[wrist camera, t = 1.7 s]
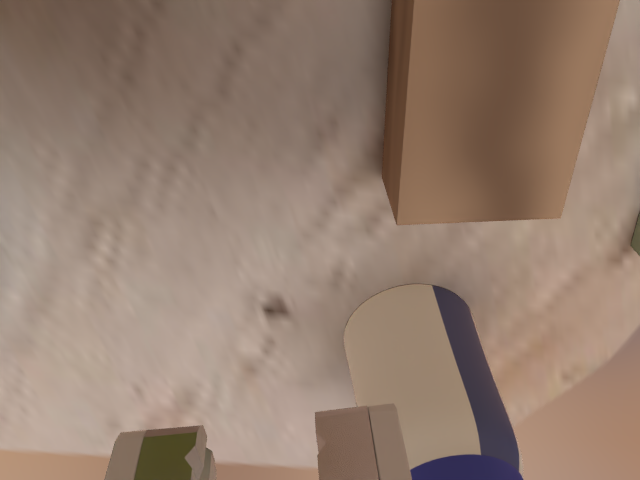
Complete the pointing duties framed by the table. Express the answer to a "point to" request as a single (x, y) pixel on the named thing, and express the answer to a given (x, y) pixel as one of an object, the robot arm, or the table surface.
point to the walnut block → (488, 105)
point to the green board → (636, 237)
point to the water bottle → (433, 383)
